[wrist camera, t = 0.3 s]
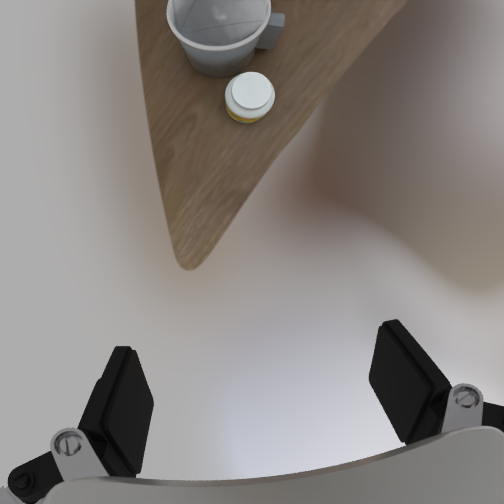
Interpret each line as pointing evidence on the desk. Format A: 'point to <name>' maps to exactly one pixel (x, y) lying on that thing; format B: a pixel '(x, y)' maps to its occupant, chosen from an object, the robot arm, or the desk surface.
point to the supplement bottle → (249, 97)
